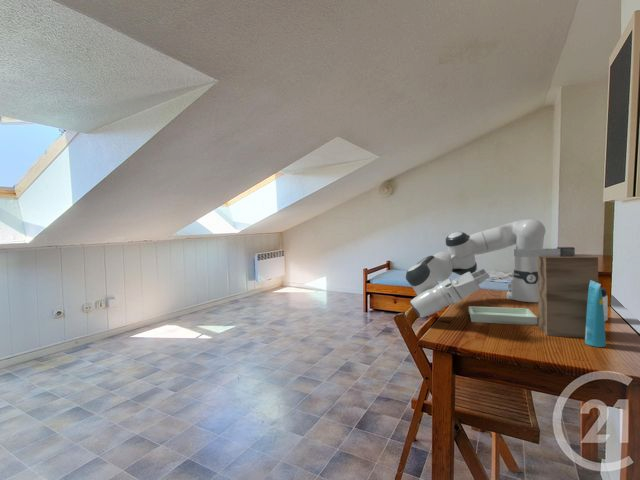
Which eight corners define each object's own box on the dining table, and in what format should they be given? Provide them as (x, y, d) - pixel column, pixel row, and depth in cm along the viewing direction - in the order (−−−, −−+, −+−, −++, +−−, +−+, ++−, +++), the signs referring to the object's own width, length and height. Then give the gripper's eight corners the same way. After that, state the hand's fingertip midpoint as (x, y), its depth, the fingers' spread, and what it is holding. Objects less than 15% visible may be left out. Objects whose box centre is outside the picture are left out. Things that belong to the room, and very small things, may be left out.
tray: (468, 313, 140) (468, 306, 140) (528, 316, 133) (528, 308, 133) (471, 321, 128) (471, 314, 128) (537, 325, 121) (537, 317, 121)
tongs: (514, 256, 118) (514, 247, 118) (571, 255, 112) (571, 246, 112) (516, 256, 115) (515, 248, 115) (574, 256, 109) (574, 247, 109)
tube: (611, 349, 96) (611, 284, 96) (592, 348, 98) (591, 284, 97) (597, 340, 103) (597, 279, 103) (579, 340, 105) (579, 279, 104)
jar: (602, 324, 119) (601, 291, 119) (575, 319, 126) (574, 288, 126) (610, 319, 124) (610, 287, 124) (584, 315, 131) (583, 285, 131)
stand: (538, 326, 119) (537, 254, 118) (585, 329, 115) (584, 254, 114) (547, 335, 110) (546, 257, 109) (598, 338, 105) (598, 257, 104)
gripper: (455, 292, 133) (487, 275, 129) (457, 304, 114) (496, 285, 110) (446, 278, 134) (478, 261, 130) (447, 288, 115) (485, 268, 110)
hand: (486, 272), depth 119 cm, fingers open, 8 cm apart
